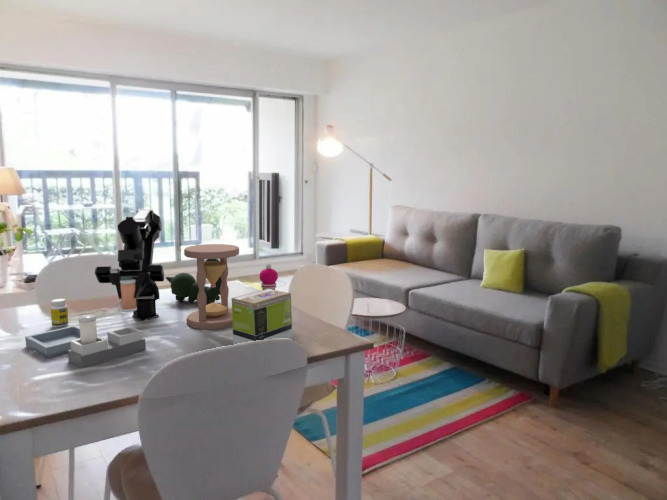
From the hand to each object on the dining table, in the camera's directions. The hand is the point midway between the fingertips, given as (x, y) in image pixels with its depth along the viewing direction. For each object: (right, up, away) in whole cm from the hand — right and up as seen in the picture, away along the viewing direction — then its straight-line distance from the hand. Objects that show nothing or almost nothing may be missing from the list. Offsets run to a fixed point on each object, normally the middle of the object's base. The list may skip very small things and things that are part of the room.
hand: (127, 298), depth 147 cm
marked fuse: (0, -4, +2) cm, 4 cm away
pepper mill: (+38, -10, +22) cm, 45 cm away
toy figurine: (+7, -6, +47) cm, 48 cm away
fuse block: (-2, -15, -8) cm, 17 cm away
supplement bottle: (-29, -11, +18) cm, 35 cm away
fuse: (-5, -12, -12) cm, 18 cm away
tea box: (+39, -14, +3) cm, 41 cm away
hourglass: (+20, -10, +23) cm, 32 cm away
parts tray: (-18, -13, -1) cm, 23 cm away
